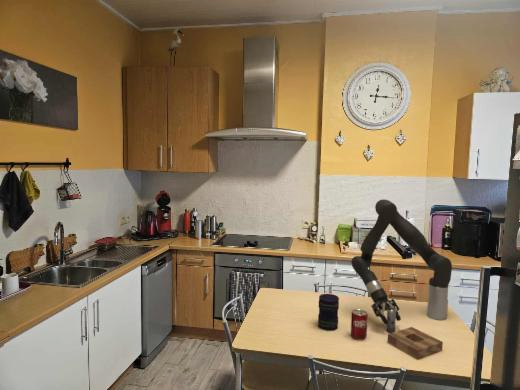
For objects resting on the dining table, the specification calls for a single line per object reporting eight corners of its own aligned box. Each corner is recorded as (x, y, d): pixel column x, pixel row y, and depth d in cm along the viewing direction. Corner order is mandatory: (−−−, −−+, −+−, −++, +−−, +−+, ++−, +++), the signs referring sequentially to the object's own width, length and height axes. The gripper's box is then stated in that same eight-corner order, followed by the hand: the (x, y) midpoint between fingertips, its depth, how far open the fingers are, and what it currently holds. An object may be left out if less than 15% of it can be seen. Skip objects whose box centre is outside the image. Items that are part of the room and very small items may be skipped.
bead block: (411, 334, 171) (411, 326, 171) (442, 350, 157) (442, 341, 157) (387, 342, 163) (387, 334, 163) (417, 359, 149) (418, 350, 149)
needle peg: (390, 328, 177) (391, 307, 176) (396, 332, 174) (397, 310, 173) (384, 330, 175) (385, 308, 174) (391, 334, 172) (392, 311, 171)
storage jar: (341, 326, 179) (342, 297, 177) (331, 333, 172) (332, 302, 170) (324, 320, 186) (325, 292, 184) (313, 326, 178) (314, 297, 177)
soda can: (348, 333, 172) (349, 309, 171) (363, 333, 172) (364, 308, 171) (353, 340, 164) (354, 315, 163) (369, 340, 165) (370, 315, 164)
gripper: (370, 290, 176) (387, 321, 167) (390, 285, 183) (408, 316, 174) (361, 296, 181) (378, 328, 172) (382, 292, 188) (398, 322, 179)
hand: (393, 322), depth 173 cm, fingers open, 8 cm apart
